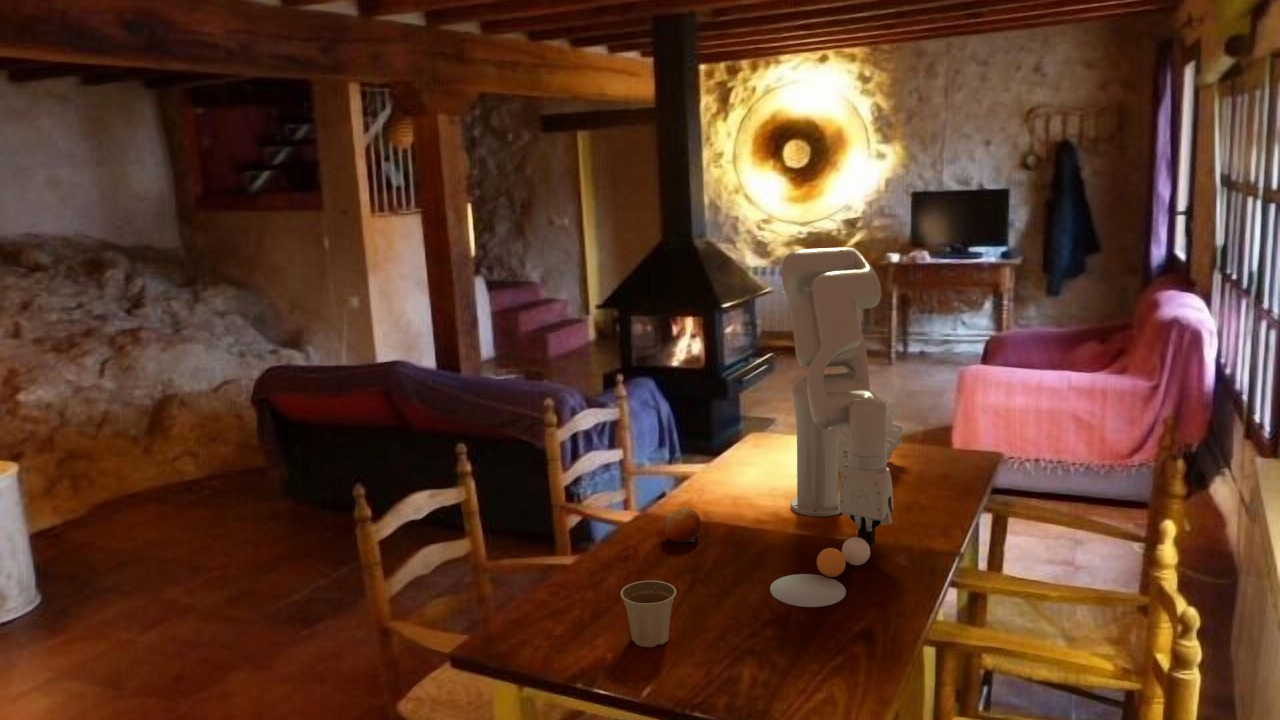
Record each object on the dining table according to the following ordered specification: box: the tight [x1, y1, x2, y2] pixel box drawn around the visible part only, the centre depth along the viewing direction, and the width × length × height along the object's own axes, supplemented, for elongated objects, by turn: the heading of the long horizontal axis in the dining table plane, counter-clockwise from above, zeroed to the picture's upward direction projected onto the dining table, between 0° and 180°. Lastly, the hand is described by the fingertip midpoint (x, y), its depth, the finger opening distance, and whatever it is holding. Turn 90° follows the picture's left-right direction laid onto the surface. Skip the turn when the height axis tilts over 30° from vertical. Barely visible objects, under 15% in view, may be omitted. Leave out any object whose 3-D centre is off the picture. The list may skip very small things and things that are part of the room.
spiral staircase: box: [836, 393, 904, 476], centre depth 249 cm, size 18×18×25 cm
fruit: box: [663, 506, 702, 544], centre depth 206 cm, size 8×8×8 cm
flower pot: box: [620, 580, 677, 648], centre depth 162 cm, size 9×9×9 cm
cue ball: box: [841, 536, 871, 566], centre depth 189 cm, size 6×6×6 cm
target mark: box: [769, 573, 847, 608], centre depth 179 cm, size 14×14×1 cm
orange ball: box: [816, 547, 847, 578], centre depth 184 cm, size 6×6×6 cm
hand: (866, 546), depth 194 cm, fingers closed
